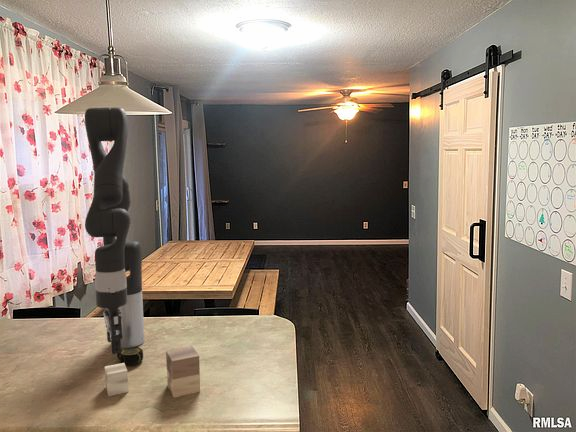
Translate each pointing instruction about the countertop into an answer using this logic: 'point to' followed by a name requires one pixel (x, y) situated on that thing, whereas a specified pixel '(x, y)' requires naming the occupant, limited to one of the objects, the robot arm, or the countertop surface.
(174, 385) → the tan wooden block
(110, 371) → the maple block
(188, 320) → the countertop surface
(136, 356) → the tape measure
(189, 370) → the walnut slab
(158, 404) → the countertop surface
